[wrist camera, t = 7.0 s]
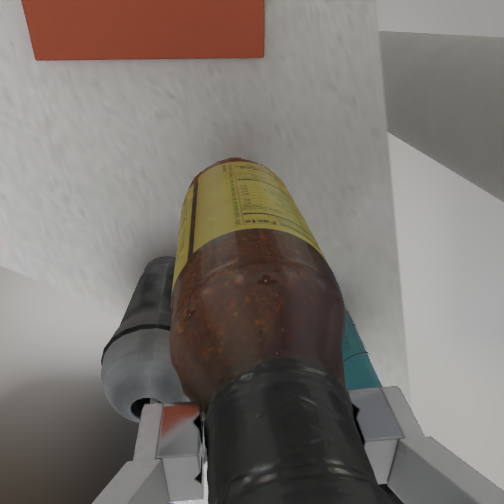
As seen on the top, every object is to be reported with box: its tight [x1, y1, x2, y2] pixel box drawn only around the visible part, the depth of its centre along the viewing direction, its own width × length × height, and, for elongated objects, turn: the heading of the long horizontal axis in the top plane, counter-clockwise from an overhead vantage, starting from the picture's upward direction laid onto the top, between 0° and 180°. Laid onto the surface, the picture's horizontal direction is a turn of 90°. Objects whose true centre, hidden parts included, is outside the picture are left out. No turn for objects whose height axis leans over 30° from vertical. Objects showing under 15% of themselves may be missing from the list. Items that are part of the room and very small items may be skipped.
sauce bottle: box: [169, 158, 395, 504], centre depth 16 cm, size 6×6×20 cm
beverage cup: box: [101, 257, 191, 423], centre depth 31 cm, size 7×7×20 cm
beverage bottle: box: [342, 310, 404, 504], centre depth 35 cm, size 6×7×20 cm
